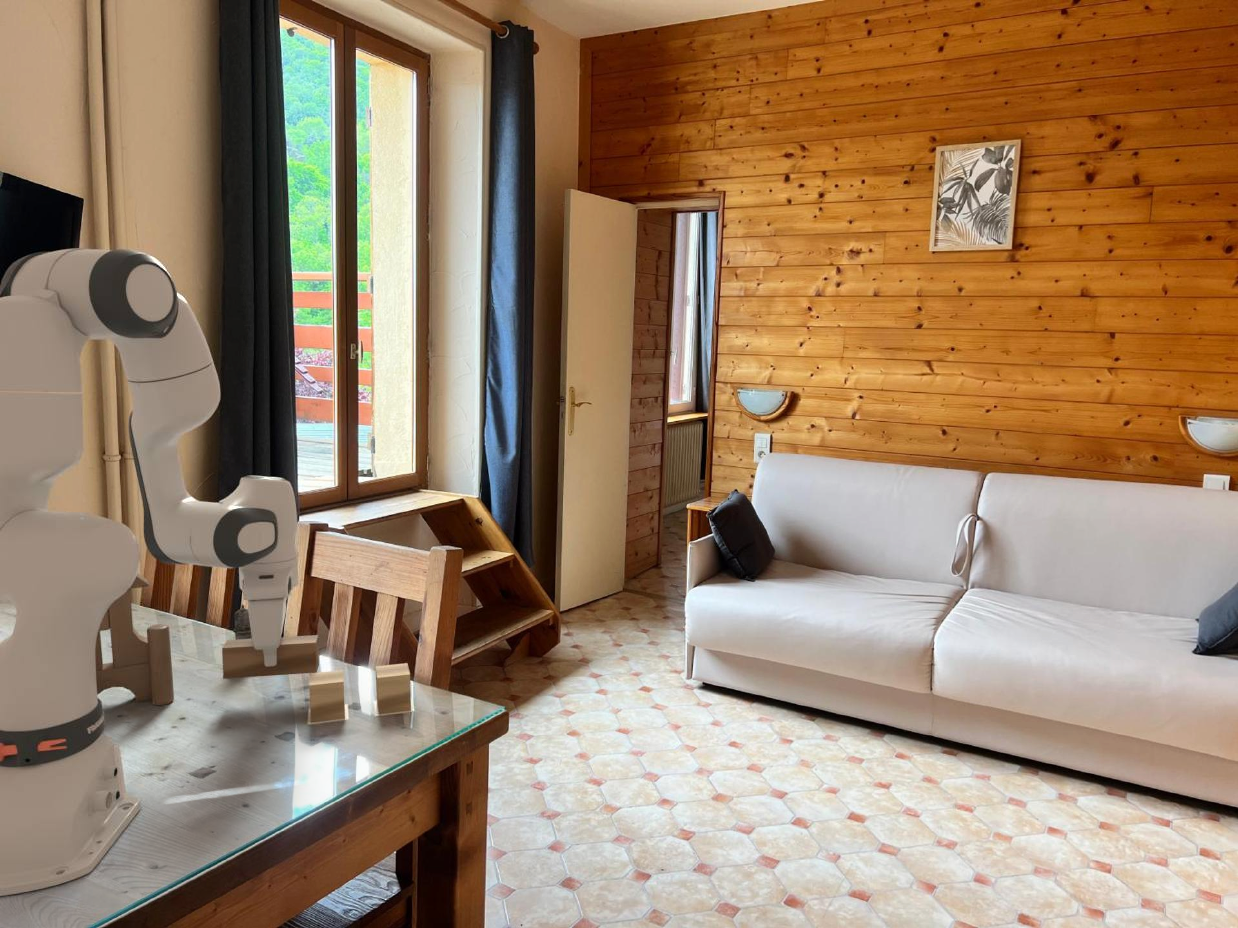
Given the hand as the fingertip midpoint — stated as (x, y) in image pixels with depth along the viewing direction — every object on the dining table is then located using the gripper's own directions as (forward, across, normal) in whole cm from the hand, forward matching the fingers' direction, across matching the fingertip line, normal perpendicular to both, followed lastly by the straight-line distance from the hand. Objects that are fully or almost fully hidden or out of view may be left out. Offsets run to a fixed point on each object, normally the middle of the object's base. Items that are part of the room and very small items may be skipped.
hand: (272, 659), depth 143 cm
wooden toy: (+8, -7, -24) cm, 26 cm away
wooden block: (+2, 0, 0) cm, 2 cm away
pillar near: (+7, +8, +8) cm, 14 cm away
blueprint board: (+8, +8, +14) cm, 17 cm away
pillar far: (+7, +8, +18) cm, 21 cm away
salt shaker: (+7, -18, -6) cm, 20 cm away
